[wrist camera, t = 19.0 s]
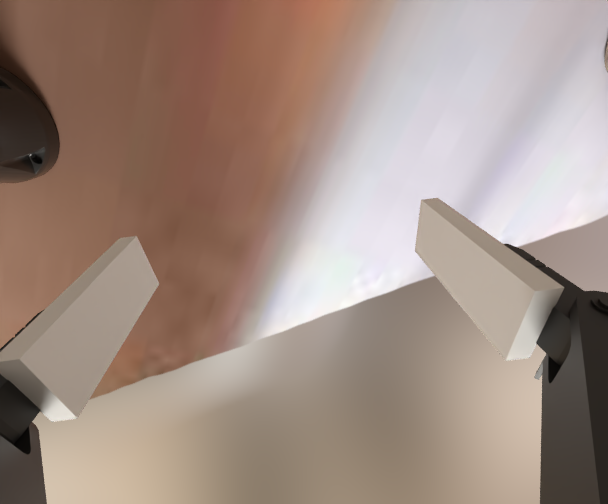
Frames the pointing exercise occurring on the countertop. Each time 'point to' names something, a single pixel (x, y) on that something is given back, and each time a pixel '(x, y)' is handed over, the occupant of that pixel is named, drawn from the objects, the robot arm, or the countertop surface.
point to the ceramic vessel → (606, 58)
